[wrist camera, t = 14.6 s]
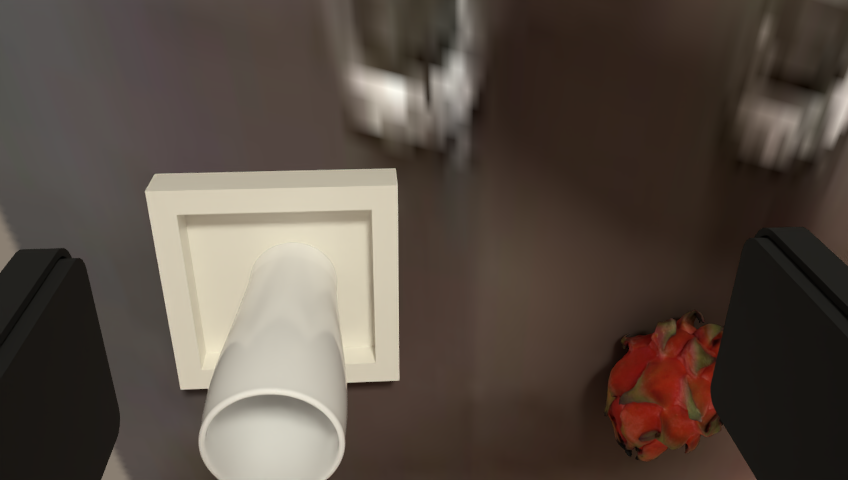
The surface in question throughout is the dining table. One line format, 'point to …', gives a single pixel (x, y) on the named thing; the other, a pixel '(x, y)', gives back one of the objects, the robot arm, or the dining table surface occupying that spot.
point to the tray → (264, 228)
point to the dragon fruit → (665, 388)
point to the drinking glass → (280, 375)
